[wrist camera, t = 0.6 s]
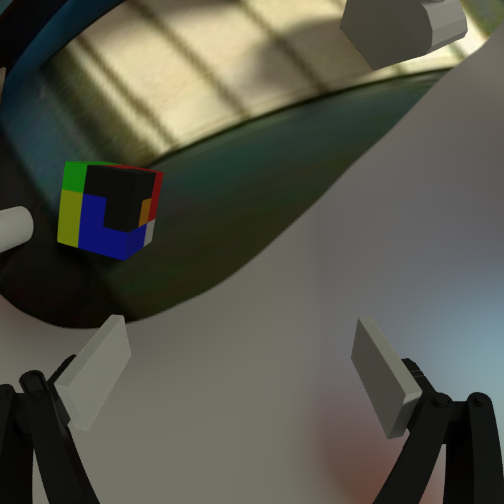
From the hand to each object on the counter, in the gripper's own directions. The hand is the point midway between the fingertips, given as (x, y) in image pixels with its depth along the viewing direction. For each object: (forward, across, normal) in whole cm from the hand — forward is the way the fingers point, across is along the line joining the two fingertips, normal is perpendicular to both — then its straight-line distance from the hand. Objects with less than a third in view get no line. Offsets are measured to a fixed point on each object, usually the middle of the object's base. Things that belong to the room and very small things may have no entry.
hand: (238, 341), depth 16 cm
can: (+27, -40, +3) cm, 48 cm away
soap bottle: (+27, +18, +30) cm, 44 cm away
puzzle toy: (+27, -18, +5) cm, 33 cm away
